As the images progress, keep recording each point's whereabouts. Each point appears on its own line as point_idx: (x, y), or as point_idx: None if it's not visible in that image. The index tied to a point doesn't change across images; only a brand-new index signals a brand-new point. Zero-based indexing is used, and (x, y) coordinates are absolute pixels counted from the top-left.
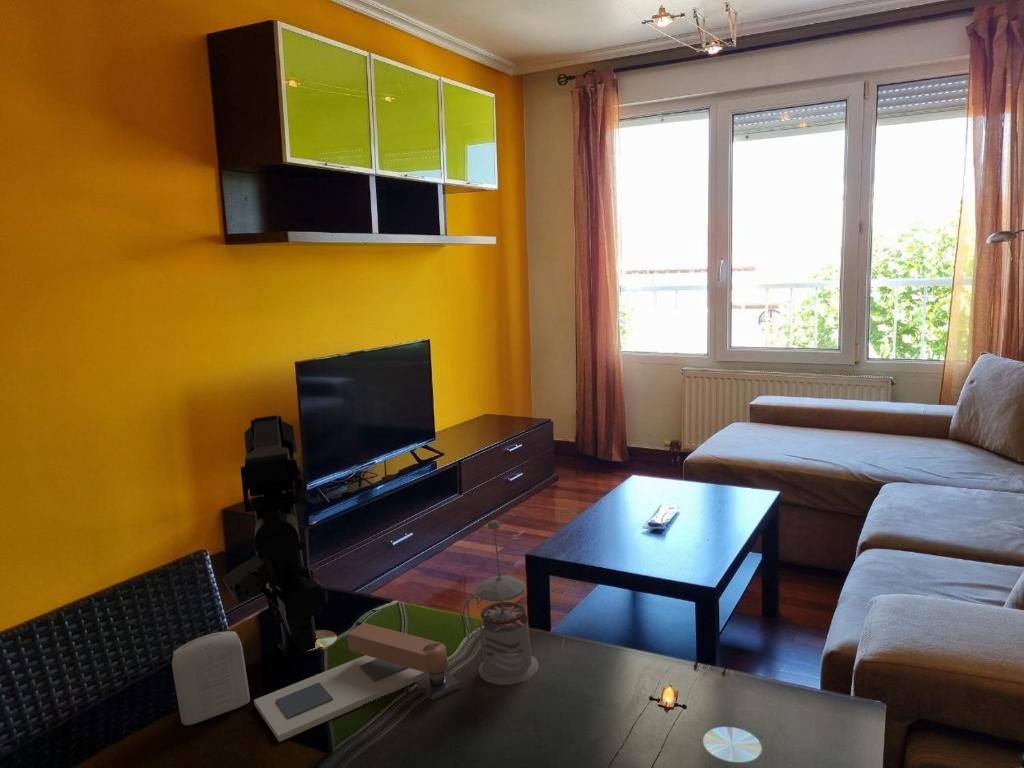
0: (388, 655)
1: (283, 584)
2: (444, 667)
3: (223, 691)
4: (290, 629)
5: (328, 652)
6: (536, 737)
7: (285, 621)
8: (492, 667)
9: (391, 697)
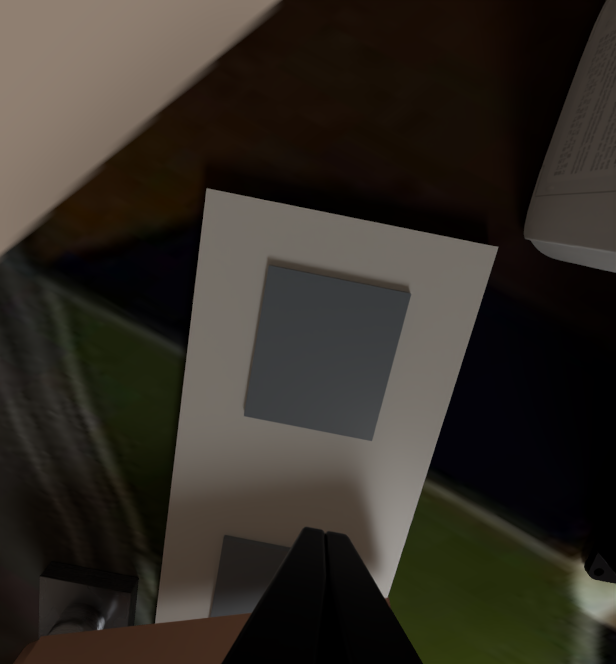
0: (190, 642)
1: None
2: None
3: (601, 133)
4: (276, 573)
5: (540, 556)
6: None
7: (342, 639)
8: None
9: (151, 516)
